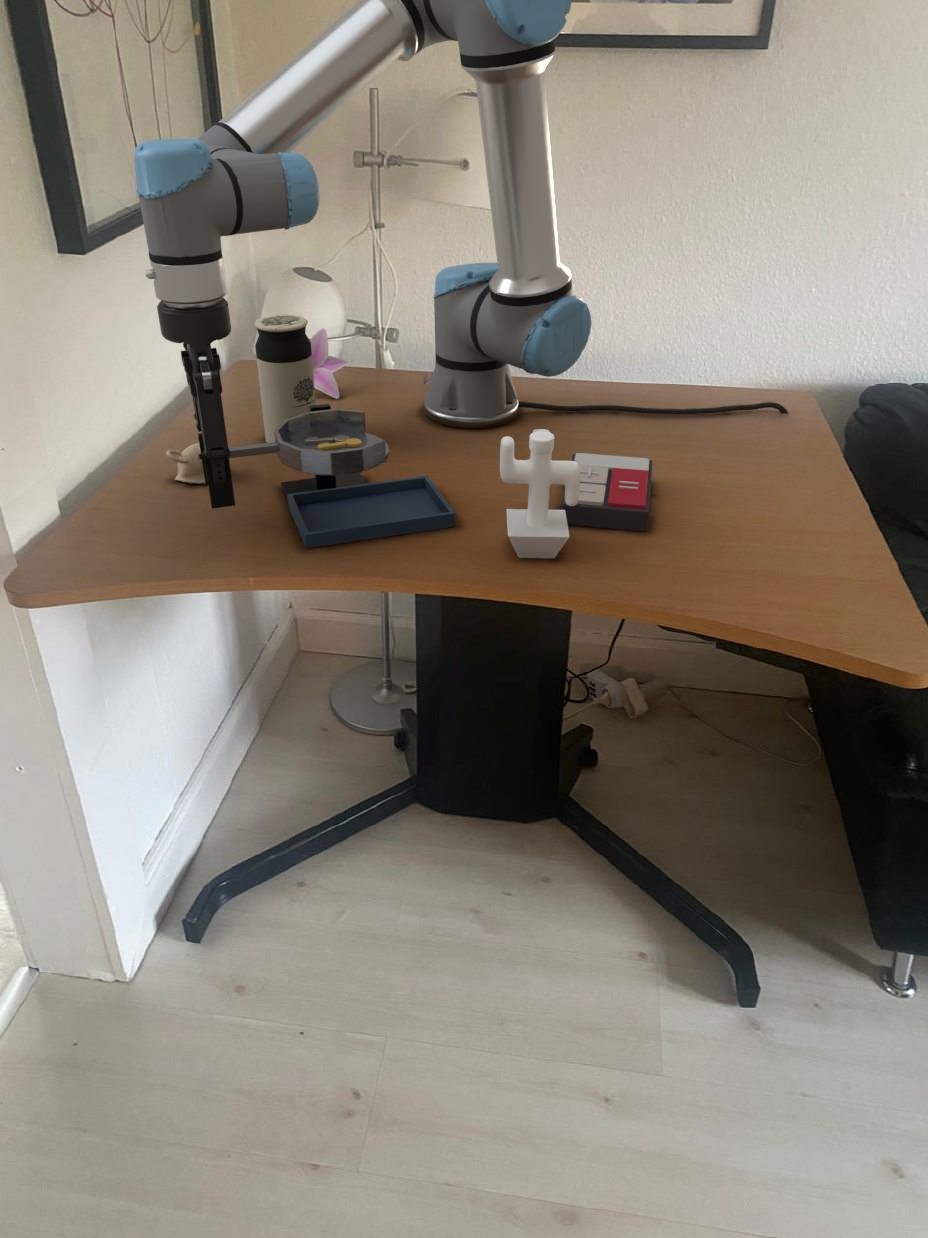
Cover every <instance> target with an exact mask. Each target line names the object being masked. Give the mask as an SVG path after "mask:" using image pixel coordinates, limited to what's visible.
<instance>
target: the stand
mask: <svg viewBox="0 0 928 1238" xmlns="http://www.w3.org/2000/svg"><path fill="white" fill-rule="evenodd" d="M309 408H310V412H312V411H321V410H330V409H332V406H331V404H330V403H321V404H316V405H312V406H309ZM365 480H366V479H364V477H363V475H362V473H361V472H358V473H353V474H346V475H314V477H311V478H303V479H295V480H288V481H281V482H280V485H281V490H282V492H283V496H284V497H285V501H286V503H288V495H287V494H292V493H300V492H307V491H315V490H322V489H330V488H338V487H345V486H353V485H360V484H367V482H366V481H365Z"/></svg>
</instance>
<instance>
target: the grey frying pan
mask: <svg viewBox="0 0 928 1238" xmlns="http://www.w3.org/2000/svg"><path fill="white" fill-rule="evenodd" d="M365 412H366V411H365V410H359V409H358V410H356V409H343V408H331V409H330V410H321V411H312V412H306V413H303V414H300V415H298V416H295V417H292V418H289V419H286V420H284V421H283V422H282V423H281V424H280V425H279V426H278V427H277V428H276V429H275V430H274V435H275V442H272V443H267V442H264V443H257V444H247V445H238V446H231V447H228V448H229V449H230V456H229V459H234V458H242V457H250V456H251V457H252V456H260V455H268V454H276V455H277V457H278V459H279V461H280V464H282V465H284V466H286V467H288V468H290V469H292V470H294V471H298V472H300V473H304V474H308V475H314V476H315V475H346V474H353V473H358V472H360V473H362V472H366V471H369V470H371V469H374V468H376V467H378V466H380V465H381V464H384V463H386V462H387V459H388V457H389V455H390V447H389V445H388V443H387V442H386V440H385V439H383V438H381V437H379V436H377V435H374V434H371V433H367V432H366V413H365ZM336 435H348V436H349V437H350V439H351V438H356V439H360V440H361V445H360V446H358V447H348V446H346V447H339V448H333V449H326V450H318V449H317V445H319V444H321V443H312V444H305V439H308V437H317V438H325V437H335V436H336ZM327 443H329V444H331V443H336V442H327Z"/></svg>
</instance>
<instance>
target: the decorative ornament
mask: <svg viewBox="0 0 928 1238" xmlns="http://www.w3.org/2000/svg"><path fill="white" fill-rule="evenodd" d="M165 453H166V456H167V457H168V458H169V459H171V460H172V461H174V462H176V463H177V474H176V476H175V478H174V481H179V482H183V483H188V484H198V485H199V484H205V478H204V471H203V465H202V459H199V454H200V453H201V451H200V445H199V442H197V443H193V444H190V445H189V446H187V447H186V448H185V449H183V451H182V452H181V451H179V450H176V449H168V450H167V451H166V452H165ZM174 455H176V456H174ZM177 456H178V457H177Z"/></svg>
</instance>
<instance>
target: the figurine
mask: <svg viewBox="0 0 928 1238" xmlns="http://www.w3.org/2000/svg"><path fill="white" fill-rule="evenodd" d="M528 439H529V441H528V449H529V452H530V453H529V454H530V455H529V458H528V459H516V458H515V441H514V440H515V439H513V437H511V436H509V435H506V436H503V437H502V438H501V439H500V443H499V444H500V446H499V476H500V479H501V481H502V482H503V483H505V484H510V485H511V484H512V485H513V484H514V485H517V484H518V485H528V492H527V493H528V494H527V508H506V525H507V529H506V530H507V537H508V539H509V541H510V544H511V545H512V548H513V549H514V552H515V553H516V555H517V558H519V559H556V557H557V556H558V554H559V553H560V551H561V550H562V549H563V547H564V546H565V544H566V543H567V542H568V540H570V539H569V538H570V531H569V525H567V519H566V513H565V510H561V509H549V505H550V487H551V485H563V486H564V491H565V502H566V504H567V505H569V506H575V505H576V504H577V503H578V498H579V486H580V468H579V465H578V464H577V463H576V462H574V461H571V460H552V456H553V455H552V453H553V451H554V449H555V434H553V433H551V432H550V430H549V429H543V428H537V429H533V430H532V433H530V434H529V437H528Z"/></svg>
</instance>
